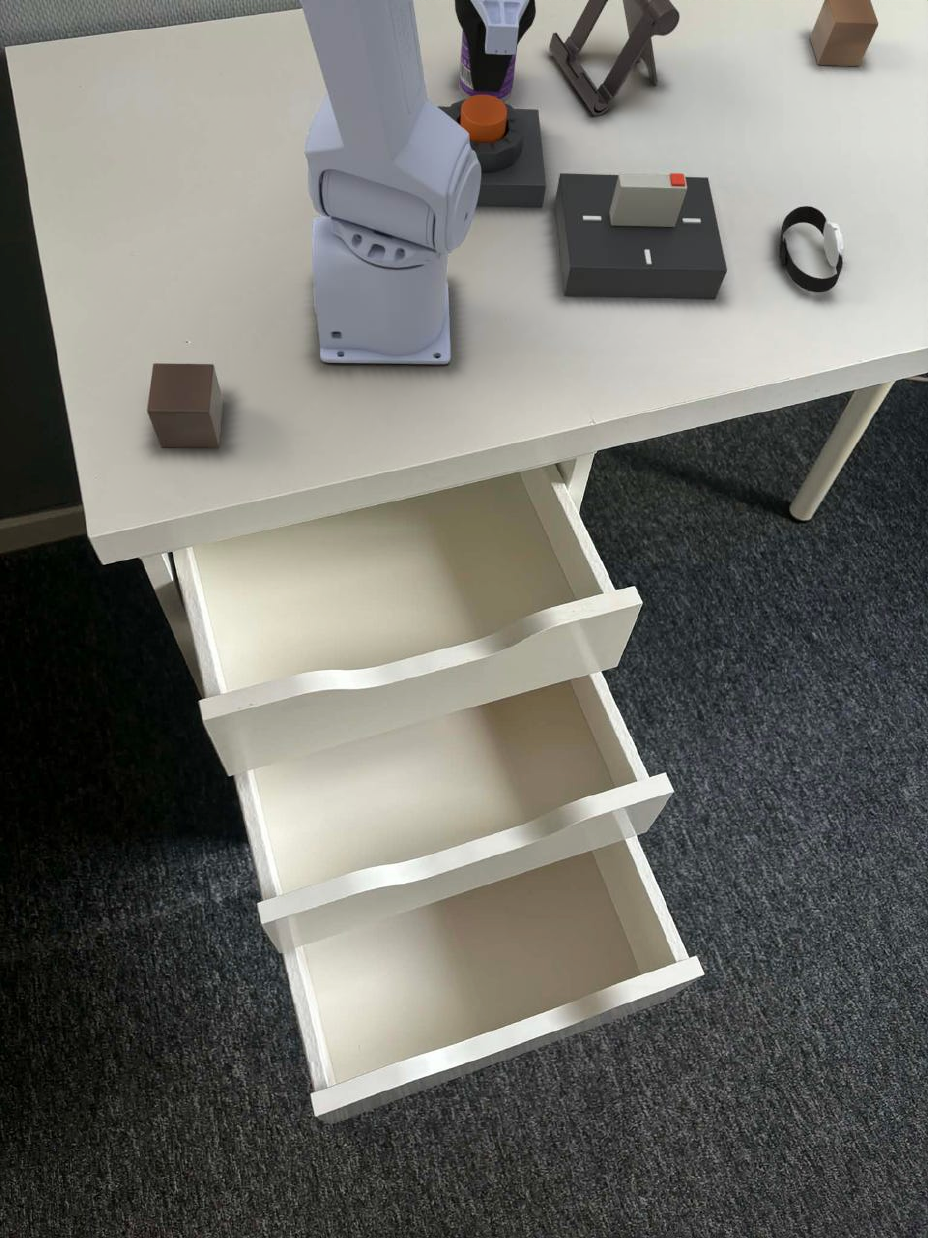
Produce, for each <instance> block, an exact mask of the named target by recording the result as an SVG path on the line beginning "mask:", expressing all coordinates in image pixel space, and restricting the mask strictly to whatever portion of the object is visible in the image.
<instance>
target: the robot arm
mask: <svg viewBox="0 0 928 1238" xmlns="http://www.w3.org/2000/svg"><path fill="white" fill-rule="evenodd" d="M299 2H300V5H301V9H302V12H303V15H304V19H305V22H306V25H307V28H308V32H309V36H310V39H311V42H312V45H313V49H314V52H315V55H316V59H317V62H318V66H319V69H320V73H321V75H322V79H323V82H324V85H325V89H326V92H327V94H326V95H325V97H324V98H323V99H322V101H321V103H320V105H319V107H318V108H317V111H316V113H315V115H314V118H313V119H312V122H311V125H310V126H309V127H310V128H309V130H308V133H307V137H306V140H305V144H304V155H305V159H306V161H307V189H308V194H309V197H310V199H311V202H312V205H313V208H314V210H315V211H316V213H318V216H313V220H312V233H311V250H312V251H311V252H312V253H311V258H312V259H311V260H312V279H313V309H314V313H315V314H316V319H317V329H318V340H319V348H320V349H319V356H320V357H319V358H320V360H321V361H322V362H324V363H328V364H329V363H332V364H335V363H336V364H394V365H395V364H397V365H398V364H401V365H402V364H403V365H404V364H405V365H446V364H449V363H450V362H451V359H452V357H451V356H452V354H451V353H452V352H451V351H452V349H451V327H450V325H451V324H450V323H451V322H450V304H449V303H450V302H449V301H450V300H449V299H450V297H449V283H448V281H447V276H448V260H449V255H450V254H451V253H452V252H454V251H455V250H457V249H458V248H460V246H461V245H462V244H463V242H464V240H465V239H466V237H467V235H468V233H469V229H470V227H471V224H472V221H473V219H474V215H475V212H476V208H477V206H476V205H477V200H478V196H479V190H480V184H481V166H480V163H479V161H478V159H477V155H476V153H475V151H473V150H472V149H471V146H470V141H469V133H468V132H467V131H466V130H465V129H464V128H463V127H461V126H460V125H459V124H458V123H457V122H456V121H454V120H453V119H452V118H451V117H449V116H448V115H447V114H446V113H444V112H443V111H442V110H441V109H439V108H438V107H437V106H438V105H436V104H435V103H433V101H432V100H430V99H429V98H428V92H427V86H426V80H425V72H424V66H423V60H422V53H421V45H420V40H419V39H420V38H419V31H418V24H417V19H416V18H417V17H416V10H415V5H414V0H299ZM536 7H537V6H536V0H454V10H455V14H456V17H457V20H458V23H459V25H460V27H461V29H462V32H464V34H465V38H466V41H467V46H468V52H469V63H470V75H471V82H472V86H473V90H474V91H483V92H499V91H500V90H501V87H502V85H503V83H504V80H505V77H506V74H507V71H508V68H509V65H510V62H511V59H512V57H513V55H515V54H516V55H517V53H516V47H517V48H518V45H519V43H520V42H521V40H522V38H523V37H524V35H525V34H526V33H527V31H528V30H530V28H531V27H532V25H533V24H534V22H535V21H534V20H535V18H536V14H537V8H536ZM437 357H438V358H437Z"/></svg>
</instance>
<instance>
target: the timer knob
mask: <svg viewBox="0 0 928 1238" xmlns="http://www.w3.org/2000/svg"><path fill="white" fill-rule="evenodd" d="M617 175H618V179H617V183H616V187H615V191H614V195H613V200H612V204H611V208H610V212H609V214H610V221H611V225H612V226H655V227H675V224H676V221H677V218H678V215H679V212H680V209H681V206H682V203H683V200H684V197H685V194H686V191H687V184H686V179H685V177H686V175H684V173H676V172H675V173H673V172H670V173H669V174H657V173H654V174H652V173H618V174H617Z"/></svg>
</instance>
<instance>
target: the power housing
mask: <svg viewBox="0 0 928 1238" xmlns="http://www.w3.org/2000/svg"><path fill="white" fill-rule="evenodd" d="M465 100H466V98H464V99H462V100H459V101H457V102H454V103H452V104H450V106H445V105H444V106H439V105H436V106H437V107H438V108H439V109H441V110H442V111H443V112H444V113H446V114H447V115H448V116H449V117H451V118H452V119H453V120H454V121H456V122H457V123H458V124H459V125H460V122H461V107H462V104H463V103H464V101H465ZM503 103H504V104H505V106H506V108H507V118H506V127H505V133H504V135H503V137H502V138H501V139H500V140H498V141H495V142H493V143H477V142H474V141H472V140H470V139H469V141H470V146H471V149H472V150H473V151H475V153H476V155H477V159H478V161H479V163H480V166H481V184H480V190H479V196H478V200H477V205H476V207H499V208H501V207H502V208H503V207H504V208H539V209H540V208H541V209H542V208H543V207H544V206H543V205H544V201H545V196H546V195H545V194H546V188H547V180H546V172H545V161H544V152H543V142H542V133H541V122H540V113H539V112H540V111H539V109H534V108H533V109H531V108H530V109H529V108H514V107H513V106H512V105H510V104H508V103H505V102H503Z"/></svg>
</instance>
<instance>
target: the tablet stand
mask: <svg viewBox="0 0 928 1238" xmlns="http://www.w3.org/2000/svg"><path fill="white" fill-rule="evenodd" d="M608 2H609V0H588V1H587V3H586V5H585V7H584V8H583V10H582V12H581V14H580V16H579V18H578V20H577V22H576V24H575V26H574V27H573V28H572V29H573V30H572V32H571V33H570V35H569V36H568V37H567V38H566V39H565V42H564V41H563V40H562V38H561V37H560V35H559V34H558V33H557V31H555V32H553V33H552V35H551V38H550V42H549V46H548V48H549V52H550V53H551V55H552V56H553V58H554V60H555V61H556V63H557V64H558V65H559V67H560V69H561V70H562V72H563V73H564V74H565V76H566V77H567V79H568V80H569V81H570V83H571V85H572V86H573V88H574V89H575V90H576V92H577V94H578V95H579V96H580V98H581V99H582V101H583V102H584V103H585V105H586V107H587V109H588V110H589V111H590V113H591V114H592V115H593V116H595V117H599V116H601V115H603V114H605V113H606V112H607V111H608V110H609V109H610V107H611V106H612V103H614V100H615V99H616V97H617V96H618V94H619V92H620V90H621V88H622V87H623V85H624V83H625V82H626V81H627V78H628V76H629V75H630V73H631V71H632V70H633V68H634V66H635V65H636V63H638V64H639V63H641V62H642V61H643V63H644V64H645V66H646V70H647V74H648V75H647V76H648V78H649V79H650V81H651V82H652V83H653V85H657V84H658V83H659V80H658V74H657V67H656V61H655V54H654V48H653V41H652V38H653V37H654V36H659V37H664V36H668V35H669V34H671V33H672V32H674V30H675V29H676V28H677V27H678V24H679V22H680V18H681V17H680V12H679V11H678V9H677V8H676V7H675V5H674V4H673V3H672V1H671V0H622V4H623V10H624V16H625V17H624V18H625V23H626V27H627V34H628V39H627V41H626V42H625V44H624V46H623V48H622V49H621V51H620V53H619V55H618V56H617V58H616V60H615V62H614V64H613V65H612V66H611V68H610V70H609V72H608V74H607V75H606V77H605V79H604V80H603V82H602V83H601V84H600V85H599V87H598V88H597V86H596V85H595V84H594V82H593V81H592V79H591V78H590V77H589V75H588V73H587V72H586V70H585V69H584V67H583V66H582V65H581V63H580V62H579V60H578V57H579V55H580V53H581V52H582V49H583V48H584V45H585V44H586V42H587V40H588V38H589V36H590V35H591V33H592V31H593V29H594V27H595V26H596V23H597V22H598V21H599V18H600V16H601V14H602V12H603V11H604V9H605V7H606V5H607V4H608Z"/></svg>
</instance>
